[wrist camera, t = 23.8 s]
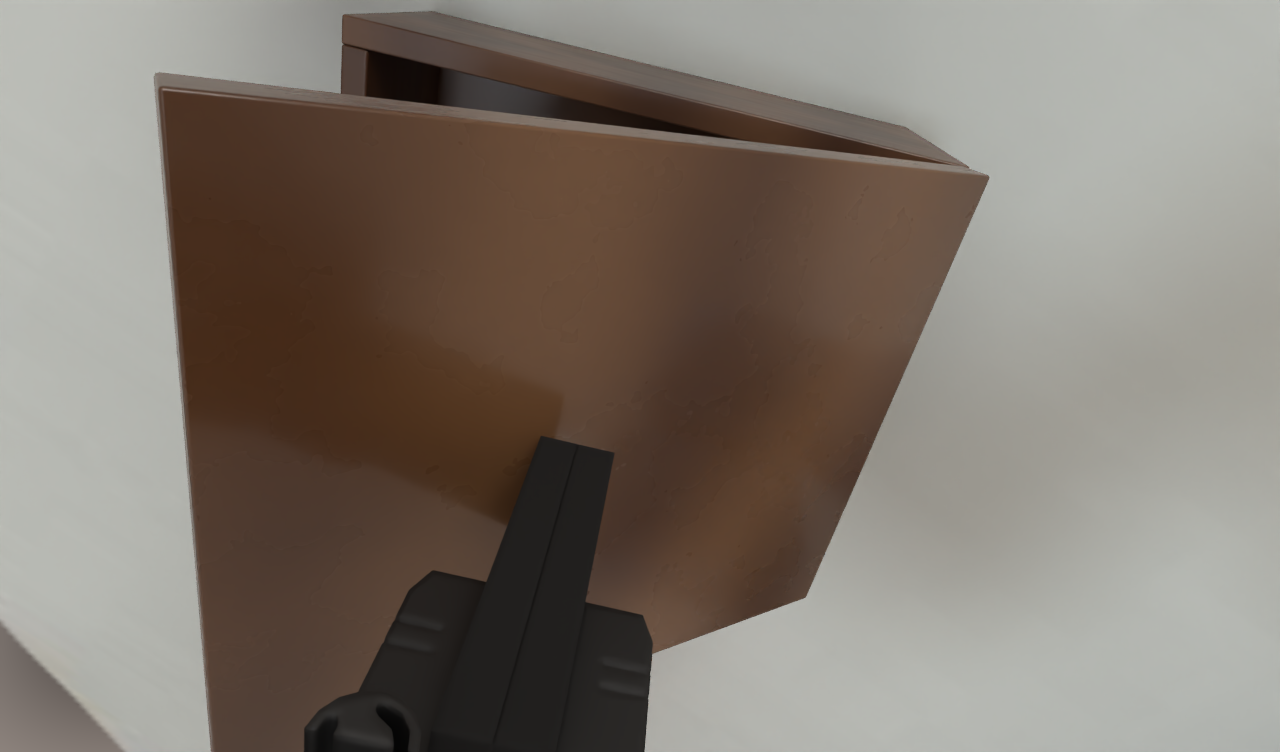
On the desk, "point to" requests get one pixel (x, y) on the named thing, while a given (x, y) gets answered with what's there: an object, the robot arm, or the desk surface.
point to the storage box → (589, 87)
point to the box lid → (514, 361)
